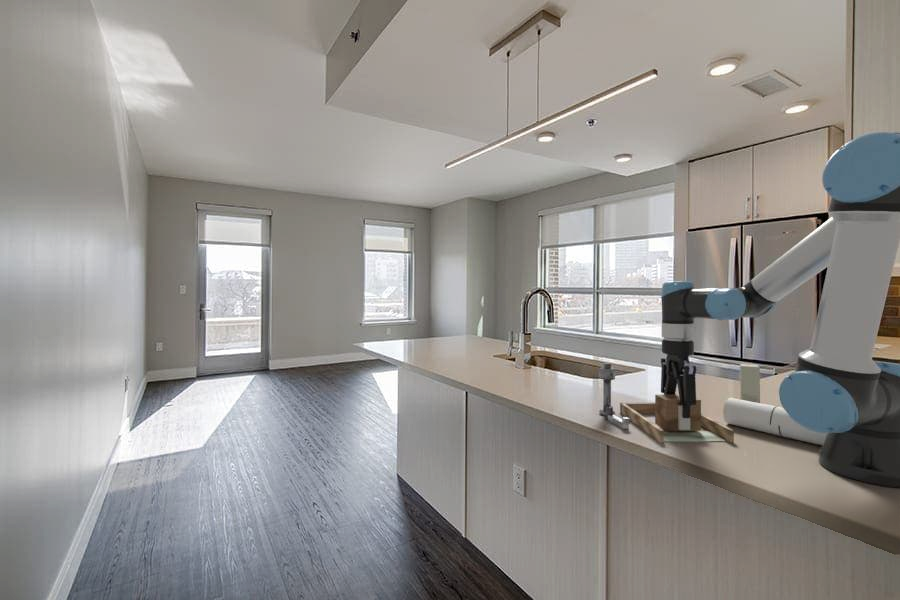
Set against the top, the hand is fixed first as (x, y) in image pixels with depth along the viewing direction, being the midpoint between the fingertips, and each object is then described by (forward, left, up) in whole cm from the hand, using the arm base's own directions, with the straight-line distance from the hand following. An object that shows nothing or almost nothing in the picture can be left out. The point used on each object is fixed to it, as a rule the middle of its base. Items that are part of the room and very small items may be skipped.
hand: (677, 425), depth 113 cm
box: (+23, -35, -1) cm, 42 cm away
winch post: (+14, +14, -1) cm, 20 cm away
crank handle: (+5, +14, -1) cm, 15 cm away
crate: (0, 0, 0) cm, 0 cm away
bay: (+3, 0, -1) cm, 3 cm away
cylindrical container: (+5, -17, +2) cm, 18 cm away
